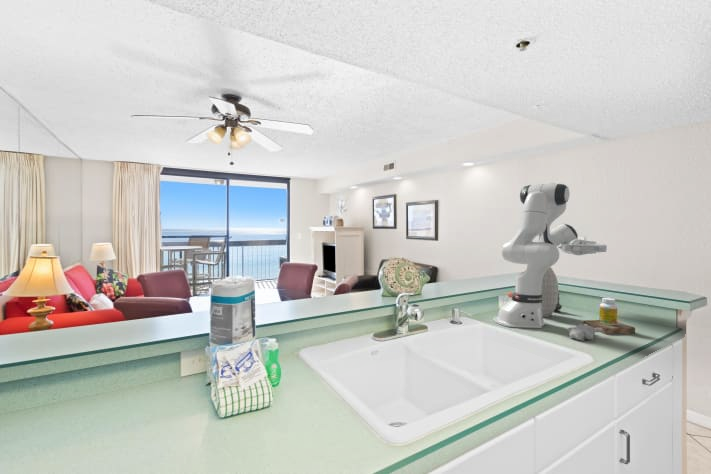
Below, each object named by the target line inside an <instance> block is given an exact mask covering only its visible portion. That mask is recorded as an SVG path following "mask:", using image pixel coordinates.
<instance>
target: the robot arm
mask: <svg viewBox="0 0 711 474" xmlns="http://www.w3.org/2000/svg"><path fill="white" fill-rule="evenodd" d="M519 198H520V202H521V203H522V204H523V207H522V212H521V217H520V221H519V223H520V224H519V226H518V229H517V232H516V233H515V234H514V236H513V237H512V238H511V239H510V240H509V241H507V242H505V244H503V246H502V248H501V256H502V258H503V259H504V260H505V261H506V262H509V263H513V264H519V265H520V264H521V265H527V267H526V270H525V271H522V272H520V273H518V274H517V275H516V277H515V288H514V290H515V292H514V293H512V292H508V293H507V297H509V298H511V299H510V300H509V301H508V302H507V303H505V304H503V305H502V306H501V307H500V308H499V311H498V315H497V316H494V317H493V321H494V323H496V324H499V325H501V326H504V327H506V328H507V327H508V328H524V329H525V328H526V329H527V328H528V329H529V328H530V329H542V328H543V327H544V326H545V325H546V324H545V321H544V317H543V315H542V307H541V305H542V294H541V288H542V279H543V276H544V274H545V272H546V270H547V269H548V268H549V267H551V268H552V266H554V265H555V264H557V262H558V261H559V259H560V251H562V252H563V253H565V254H568V255H574V256H583V255H589V254H590V255H591V254H596V253H606V252H607V244H605V243H598V242H597V241H594V240H593V241H590V240H585V239H578V233H577V231H576V229H575V228H574V227H573V226H572V225H570V224H567V223H561V224H559V225H558V226H555V227H554V228H552V229H550V227H551V225H552V224H553V223H554V221H556V220H557V219H558V218H559V217H560V216H562V215H563V214H564V213H565V211H566V210H567V202H568V201H569V198H570V190H569V187H568V186H567V185H566V184H563V183H555V182H548V183H541V184H540V183H538V184H533V185H532V184H529V185H525V186H523V187H522V189H521V190H520V192H519ZM538 236H539V237H538ZM536 237H538V241H534V239H536ZM559 249H560V250H559Z"/></svg>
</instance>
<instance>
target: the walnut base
mask: <svg viewBox="0 0 711 474" xmlns="http://www.w3.org/2000/svg"><path fill="white" fill-rule="evenodd" d="M582 321H583V322H582V324H583V325H584V324H587V325H589V326H592V327H593V328H602V329H603V331H604V332H600V334H603V335H604V334H605V335H623V334H625V335H626V334H628V335H629V334H636V327H634V326H632V325H628V324H625V323H622V322H619V321H617V325H605V324H602V323H600V322H599V319H589V320H588V319H587V320H586V319H585V320H582Z"/></svg>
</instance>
